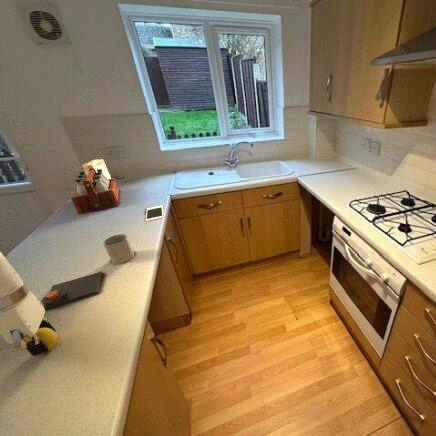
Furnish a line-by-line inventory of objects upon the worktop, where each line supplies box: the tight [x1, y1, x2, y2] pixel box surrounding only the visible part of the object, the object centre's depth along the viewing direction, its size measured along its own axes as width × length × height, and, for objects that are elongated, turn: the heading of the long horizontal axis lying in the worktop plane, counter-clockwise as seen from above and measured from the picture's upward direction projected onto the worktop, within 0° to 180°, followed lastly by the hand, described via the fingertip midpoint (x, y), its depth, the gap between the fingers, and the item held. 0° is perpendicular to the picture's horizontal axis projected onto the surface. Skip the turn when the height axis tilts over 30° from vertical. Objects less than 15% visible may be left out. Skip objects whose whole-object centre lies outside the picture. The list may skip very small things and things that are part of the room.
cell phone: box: [145, 205, 164, 222], centre depth 141 cm, size 9×18×1 cm, turn 26°
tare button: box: [45, 290, 60, 300], centre depth 81 cm, size 3×3×2 cm
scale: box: [40, 271, 104, 311], centre depth 86 cm, size 15×12×4 cm
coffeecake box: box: [81, 158, 112, 182], centre depth 182 cm, size 15×7×20 cm, turn 6°
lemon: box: [26, 328, 58, 351], centre depth 66 cm, size 6×6×8 cm
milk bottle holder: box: [70, 168, 120, 214], centre depth 155 cm, size 21×35×19 cm, turn 32°
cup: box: [102, 233, 135, 265], centre depth 101 cm, size 8×8×10 cm
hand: (44, 342), depth 66 cm, fingers closed on lemon, 5 cm apart
